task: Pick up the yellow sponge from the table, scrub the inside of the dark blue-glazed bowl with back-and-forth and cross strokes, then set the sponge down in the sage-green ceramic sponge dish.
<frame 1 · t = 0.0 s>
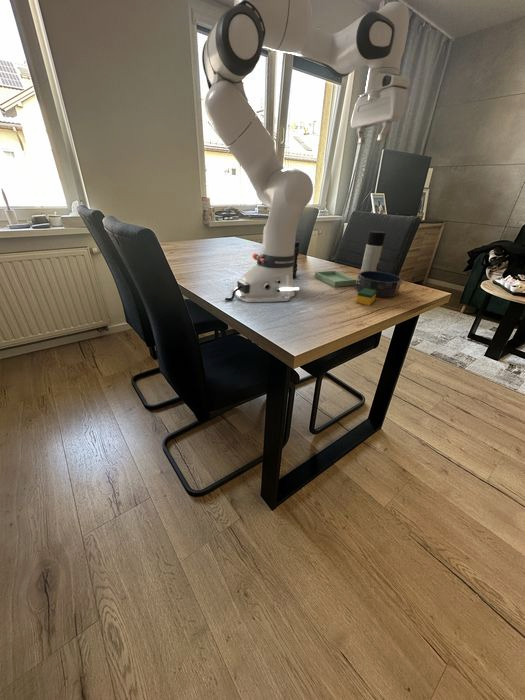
hand: (370, 142, 92), 48 cm above the table, tool pointing down, fingers open, 8 cm apart
dish: (334, 280, 122), on the table
spray can: (366, 279, 127), on the table
bowl: (376, 291, 112), on the table
sponge: (365, 301, 101), on the table
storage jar: (285, 276, 126), on the table
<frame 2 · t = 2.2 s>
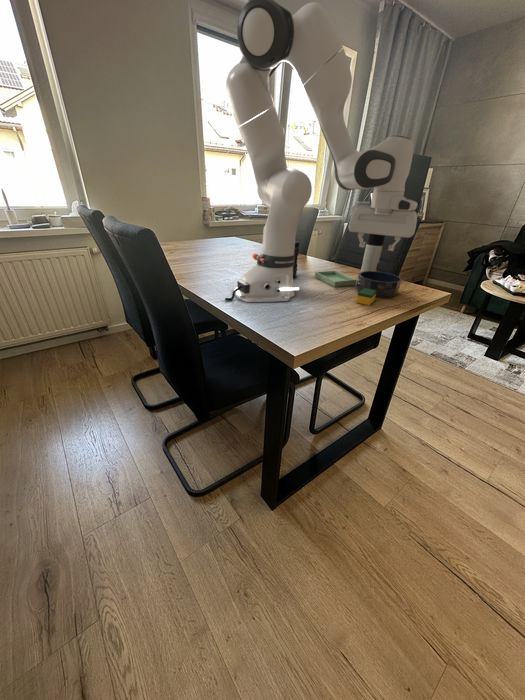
hand: (375, 249, 94), 18 cm above the table, tool pointing down, fingers open, 8 cm apart
nothing on the table moved.
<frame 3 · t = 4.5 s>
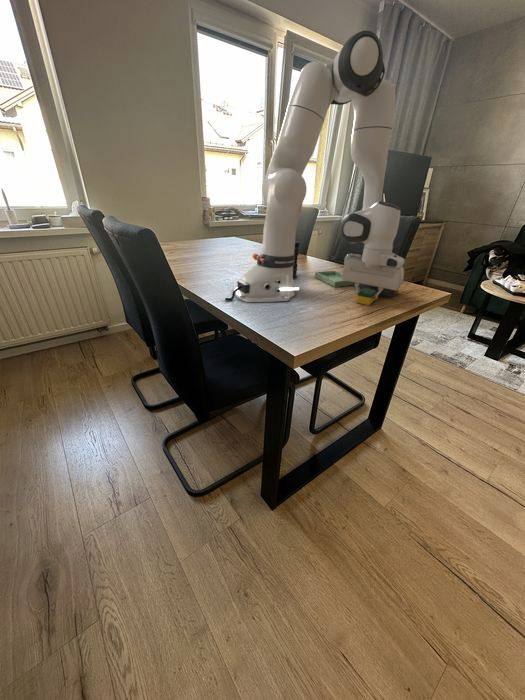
hand: (366, 296, 100), 2 cm above the table, tool pointing down, fingers closed on sponge, 4 cm apart
sponge: (365, 301, 101), on the table, touching gripper
everything else where it was.
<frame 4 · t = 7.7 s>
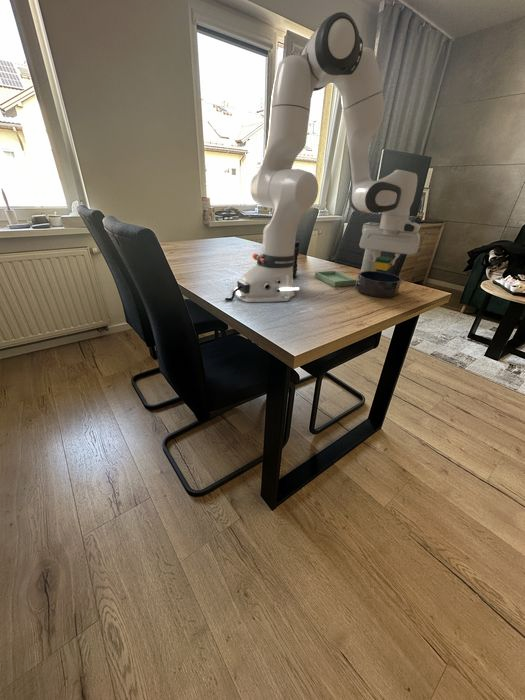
hand: (383, 263, 106), 11 cm above the table, tool pointing down, fingers closed on sponge, 4 cm apart
sponge: (382, 267, 107), point 9 cm above the table, touching gripper
everything else where it was.
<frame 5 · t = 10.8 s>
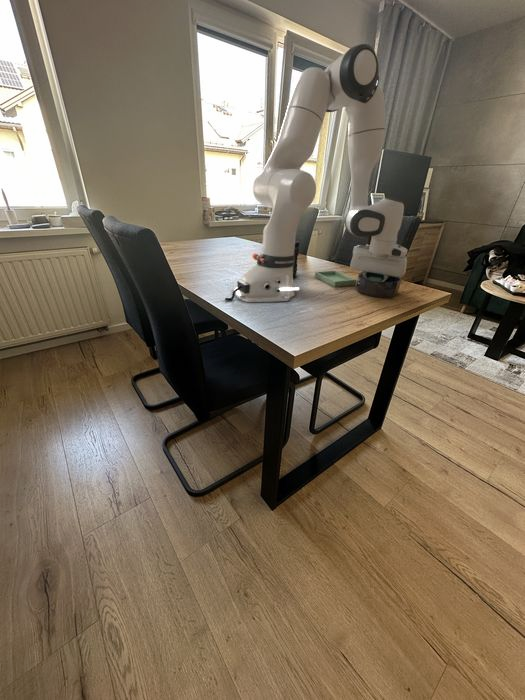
hand: (373, 284, 111), 3 cm above the table, tool pointing down, fingers closed on sponge, 4 cm apart
sponge: (371, 288, 112), point 1 cm above the table, touching gripper
everything else where it was.
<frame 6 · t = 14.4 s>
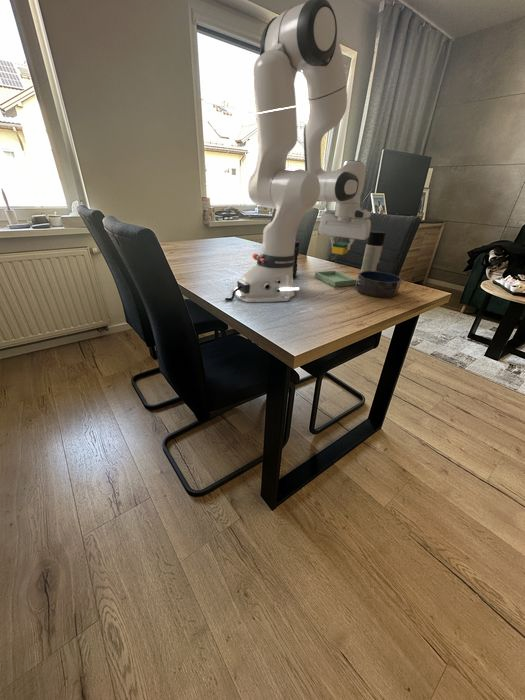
hand: (340, 248, 116), 13 cm above the table, tool pointing down, fingers closed on sponge, 4 cm apart
sponge: (339, 252, 117), point 12 cm above the table, touching gripper
everything else where it was.
when the fingers open (2 cm above the table, at t = 17.4 s): sponge stays where it is, resting on dish.
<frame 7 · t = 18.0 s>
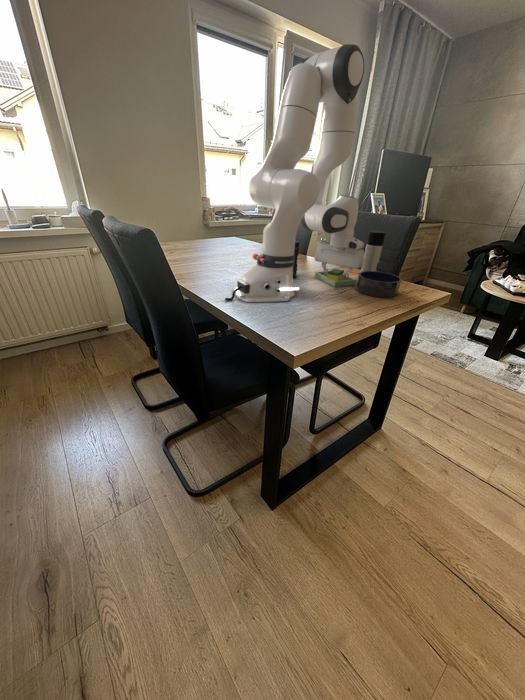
hand: (335, 275, 121), 2 cm above the table, tool pointing down, fingers open, 8 cm apart
sponge: (334, 279, 122), point 1 cm above the table, touching dish
everything else where it was.
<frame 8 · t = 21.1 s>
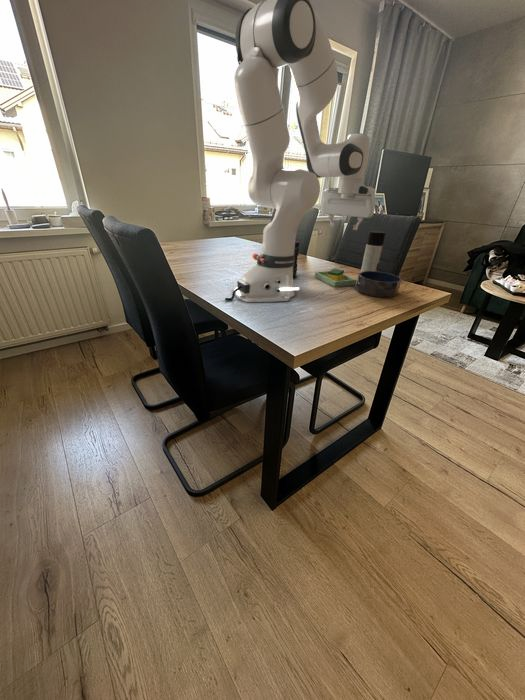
hand: (343, 228, 112), 21 cm above the table, tool pointing down, fingers open, 8 cm apart
nothing on the table moved.
at the end: sponge inside the target area in the dish (0.3 cm from its centre), point 0.6 cm above the dish's base; the gripper is holding nothing; sponge tilted 0° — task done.
